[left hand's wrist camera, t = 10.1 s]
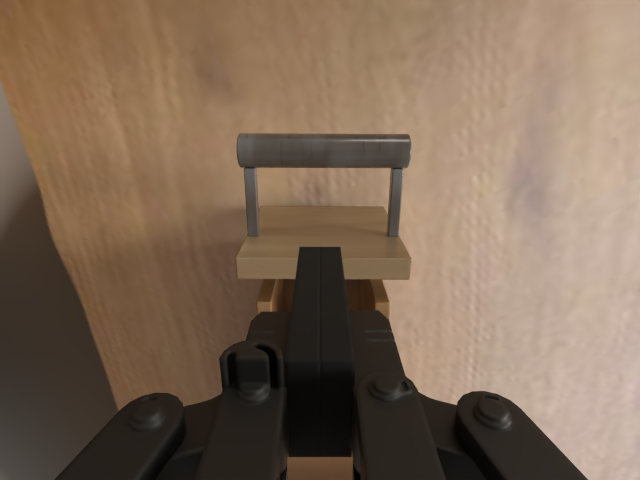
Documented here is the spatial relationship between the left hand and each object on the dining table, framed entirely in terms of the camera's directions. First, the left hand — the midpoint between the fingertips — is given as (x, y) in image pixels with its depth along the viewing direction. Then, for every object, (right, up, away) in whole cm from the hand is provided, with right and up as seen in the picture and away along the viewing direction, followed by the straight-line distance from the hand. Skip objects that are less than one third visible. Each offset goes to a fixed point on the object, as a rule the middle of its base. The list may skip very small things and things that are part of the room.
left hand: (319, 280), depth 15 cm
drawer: (0, -1, +16) cm, 16 cm away
